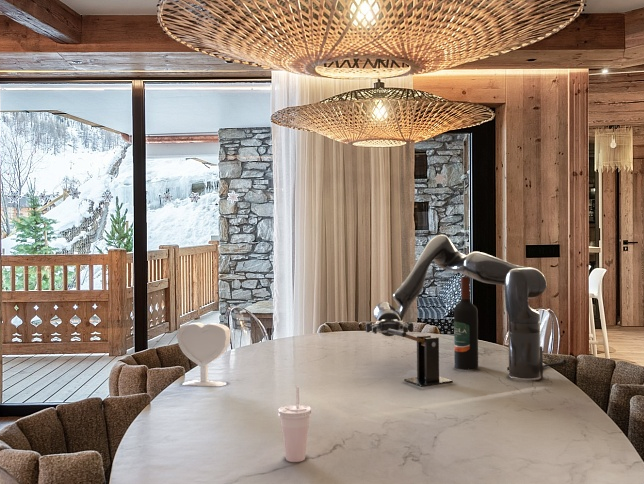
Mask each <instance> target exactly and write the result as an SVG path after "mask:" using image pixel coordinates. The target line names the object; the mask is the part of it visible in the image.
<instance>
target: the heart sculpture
mask: <svg viewBox="0 0 644 484" xmlns="http://www.w3.org/2000/svg"><path fill="white" fill-rule="evenodd" d="M231 337H232V335H231V328H229V327H228V326H227V325H225V324H222V323H218V322H211V323H207V324H204V323H202V322H192V323H188V324H185V325H182V326H181V327H179V328H178V329H177V334H176V338H177V344H178V345H177V346H178V347H179V349H180V350H181V352H182V354H183V355H184V356H185V357H186V358H188V359H189V360H190V361H191V362H193V363H194V364H196V365H197V366H199V367H200V370H199V371H200V374H199V375H200V379H199V380H189V381H185V382H182V385H181V386H195V387H197V386H198V387H224V386H227V382H226V381H216V380H209V365H210V364H211V363H212V362H214V361H216V360H218V359H219V358H220V357H221V356H222V355H224V354H225V353H226V351H227V350H228V348H229V346H230V343H231Z"/></svg>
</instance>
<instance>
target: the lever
mask: <svg viewBox="0 0 644 484" xmlns="http://www.w3.org/2000/svg"><path fill="white" fill-rule="evenodd" d="M387 332H388V333H389V334H393V335H394V336H398V337H402V338H406V339H409V340H411V341H415V342H417V341H418V342H421V345H422V346H425V339H424V337H423V339H420V338H417V336H415V335H410V334H407V332H402V331H398V330H394V329H388V331H387Z"/></svg>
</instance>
